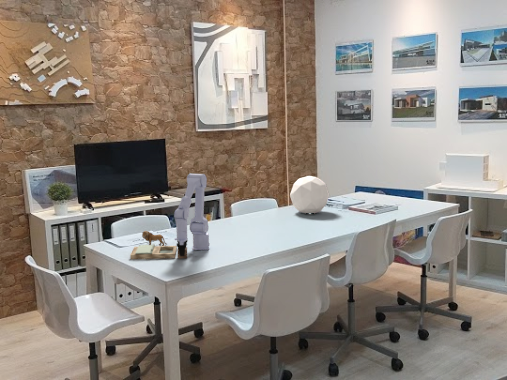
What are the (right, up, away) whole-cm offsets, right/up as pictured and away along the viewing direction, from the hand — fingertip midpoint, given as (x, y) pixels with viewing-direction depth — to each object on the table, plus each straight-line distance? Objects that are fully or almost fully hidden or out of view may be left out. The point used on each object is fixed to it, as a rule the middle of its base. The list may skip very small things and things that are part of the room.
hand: (182, 254), depth 308 cm
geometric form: (+81, +18, +120) cm, 146 cm away
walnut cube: (0, -1, 0) cm, 1 cm away
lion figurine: (-20, +2, +26) cm, 33 cm away
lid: (-21, +2, +6) cm, 22 cm away
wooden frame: (-17, -1, +6) cm, 18 cm away
